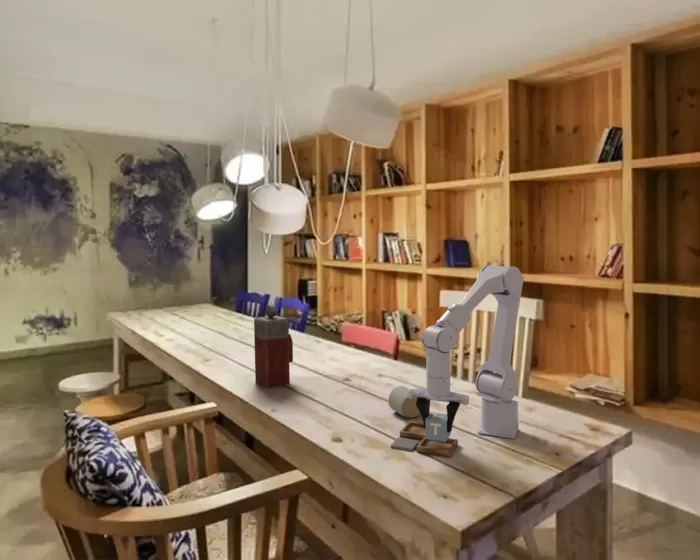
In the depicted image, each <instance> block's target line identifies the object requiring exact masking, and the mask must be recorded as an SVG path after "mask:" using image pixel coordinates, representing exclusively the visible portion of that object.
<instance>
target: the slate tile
mask: <svg viewBox="0 0 700 560" xmlns="http://www.w3.org/2000/svg"><path fill="white" fill-rule="evenodd" d="M419 443H420V440H417V439H411V438H404V437H400V436H399V437H397V438H396V439H395V440H394V441H393V442H392V444H391V445H390V448H391V449H397V450H403V451H408V452H413V451H414V450H415V448H417V446H418V444H419Z"/></svg>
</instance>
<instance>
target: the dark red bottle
mask: <svg viewBox="0 0 700 560" xmlns="http://www.w3.org/2000/svg"><path fill="white" fill-rule="evenodd" d="M277 310H278V309H277V306H276V305H275V304H267V305H266V306H265V315H266V316H260V317H255V318H254V319H253V327H254V328H253V331H254V335H253V336H254V337H253V339H254V369H255V371H254V372H255V373H254V377H255V379H254V380H255V384H256V383H257V384H256V385H258V384H259V385H258V386H260V385H261V386H260V387H262V386H263V388H264V387H265V388H264V389H266V388H267V389H266V390H269V389H268V388H270V389H273V388H272V387H275V388H278V387H277V386H280V387H283V386H282V385H284V386H287V385H286V384H289V385H290V384H291V383H290V379H291V377H290V375H291V374H290V363H293V362H294V349H293V346H294V345H293V344H294V343H293V338H292V335H291V334H290V332H289V331H290V330H289V327H290V326H289V323H290V321H289V319H288V318H286V317H284V316H283V317H282V316H279V315H277V312H278V311H277Z"/></svg>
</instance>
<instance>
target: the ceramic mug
mask: <svg viewBox="0 0 700 560" xmlns="http://www.w3.org/2000/svg"><path fill="white" fill-rule="evenodd" d="M409 390H410V388H408V387H406V386H404V385H399V386H397V387H394V388H393V389H392V390H391V391H390V393H389V395H388V406H389V407H390V409H391V410H392V411H394V412H396V413H397V414H399V415H401V416H402V417H404V418H406V419H414V418H417V416H419V415H420V412H419V410H418V408H417V406H416V402H417V398H413V399H410V398H409Z"/></svg>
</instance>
